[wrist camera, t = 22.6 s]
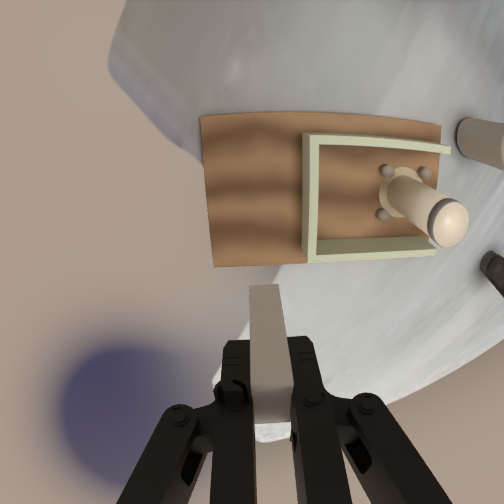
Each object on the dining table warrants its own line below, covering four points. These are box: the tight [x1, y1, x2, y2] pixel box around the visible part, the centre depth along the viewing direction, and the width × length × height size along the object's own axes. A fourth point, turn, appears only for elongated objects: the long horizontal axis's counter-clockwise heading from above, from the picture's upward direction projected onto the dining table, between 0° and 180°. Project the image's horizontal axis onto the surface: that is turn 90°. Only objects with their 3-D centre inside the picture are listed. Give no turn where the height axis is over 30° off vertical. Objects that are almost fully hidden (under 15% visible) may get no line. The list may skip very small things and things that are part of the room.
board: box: [200, 112, 441, 267], centre depth 36 cm, size 20×32×3 cm, turn 93°
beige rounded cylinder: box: [387, 175, 469, 247], centre depth 31 cm, size 5×5×12 cm
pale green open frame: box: [301, 133, 451, 263], centre depth 34 cm, size 15×19×4 cm
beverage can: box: [457, 118, 504, 171], centre depth 28 cm, size 6×6×12 cm
